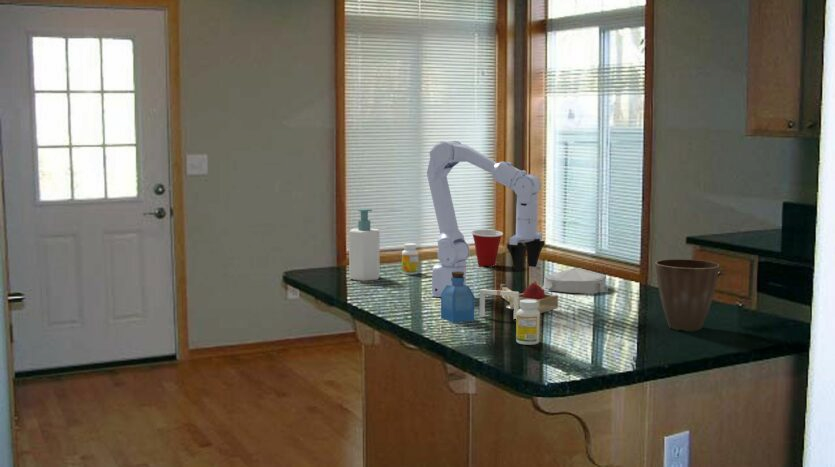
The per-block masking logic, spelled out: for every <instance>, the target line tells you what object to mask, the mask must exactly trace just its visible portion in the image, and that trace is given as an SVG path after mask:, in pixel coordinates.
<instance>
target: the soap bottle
mask: <svg viewBox="0 0 835 467" xmlns="http://www.w3.org/2000/svg"><path fill="white" fill-rule="evenodd" d="M358 212H360V219H358V222H357V223H358V224H357V226H358V227H357V228H350V230H349V231H348V252H349V253H348V257H349V259H348V261H349V262H348V263H349V265H348V266H349V268H348V270H349V272H348V273H349V274H348V276H349V280H351V279H353V280H354V281H361V282H366V281H377V280H379V278H380V273H381V272H380V271H381V270H380V268H381V267H380V263H381V262H380V261H381V260H380V257H381V255H380V229H379V228H371V219H369V212H373V209H371V208H359V209H358Z"/></svg>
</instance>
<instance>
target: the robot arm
mask: <svg viewBox="0 0 835 467" xmlns="http://www.w3.org/2000/svg"><path fill="white" fill-rule="evenodd" d="M463 162H466V163H469V164H471V165H474V166H475V167H478V168H480V169H481V170H483V171H486V172H488V173H489V174H491V176H492V179H493V180H494V181H495V182H497V183H499V184H501V185H503V186H504V187H506V188H508V189H510V190H512V191H514V193H515V195H516V207H515V208H516V210H515V211H516V212H515V213H516V215H515V216H516V217H515V218H516V219H515V221H516V222H515V234H513V236H510V237H509V243H506V248H507V250H508V252H509V253H510V256H511V258H512V262H513V268H514V271H523V269H524V263H525V256H526V253H527V264H528V267H531V268H532V267H533V268H536V267H537V265H538V262H539V257H540V255H541V252H542V249H543V248H544V245H545V244H546V242H545V240H543V233H542V232H538V204H539V202H538V200H539V198H538V196H539V194H538V193H540V190H541V187H542V185H541V184H542V183H541V180H540V179H539V178H538V177H537V176H536V175H535V174H533V173H530V174H527V171H526V170H524V169H523V170H521V169H519V168H517V167H515V166H513V165H512V164H513V163H512V162H510V161H506V162H505V161H503V160H502V161H499V162H497V161H495V160H493V159H491V158H489V157H488V156H486V155H484V154H482V153H481V152H479V151H478V150H476V149H474V148H473V147H471V146H469V145H467V144H464V143H462V142H460V141H457V140H452V141H439V142H437V143H436V144H434V145H433V147H432V149H431V150H430V151H429V160H428V165H427V166H428V167H427V169H426V176H427V181H428V186H429V189H430V194H431V199H432V203H433V208H434V211H435V215H436V216H435V217H436V220H437V224H438V230H439V237H438V239H437V251H436V252H437V259H438V260H439V262H440V264H435V265H434V266H433V268H432V273H431V294H430V296H431V297H437V298H441V293H442V292H443V290H444V289H445V287H446V286H447V285H451V284H452V281H451V277H452V272H464V275H463V277H465V281H464V282H463V285H467V260H468V258H469V257H470V254H471V252H470V251H471V249H470V246H469V244H468V243H467V241H466V239H465V236H464V234H463V233H462V232H461V231H460V229H459V226H458V222H457V217H456V212H455V208H454V203H453V199H452V195H451V190H450V184H449V181H448V174H449V173H450V172H451V171H452V170H453V168H454V167H455V166H457V165H458V164H460V163H463Z"/></svg>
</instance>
